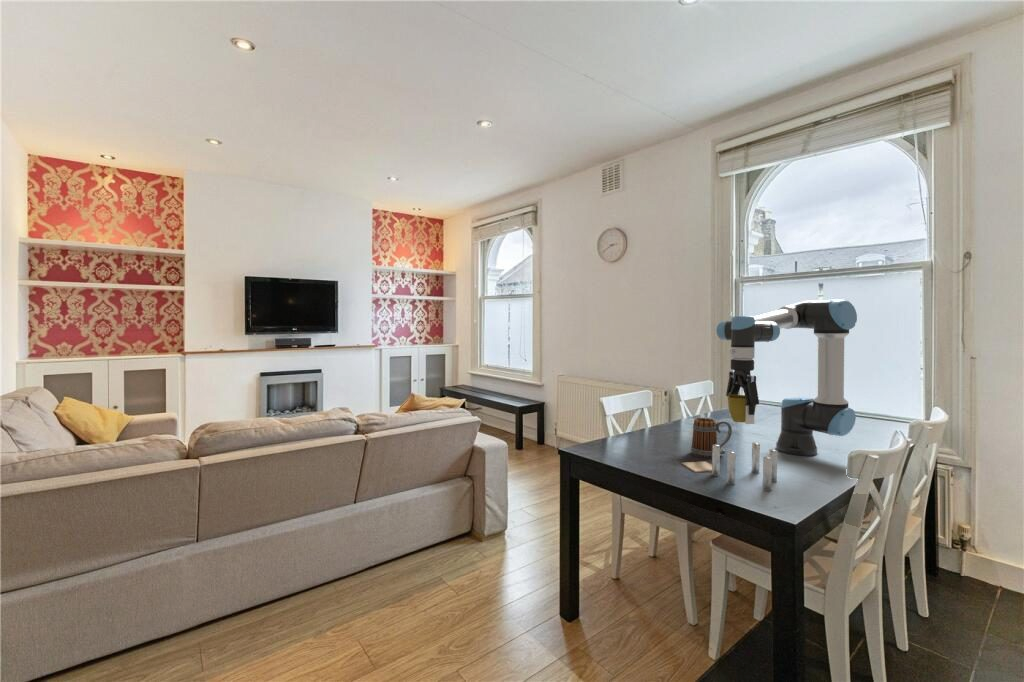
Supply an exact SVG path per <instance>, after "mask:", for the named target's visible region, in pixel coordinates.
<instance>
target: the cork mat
mask: <svg viewBox="0 0 1024 682" xmlns="http://www.w3.org/2000/svg"><path fill="white" fill-rule="evenodd" d="M681 465H683V466H684V467H686V468H688V469H689V470H691V471H692V472H693V473H711V472H712V463H709V462H707V461H705V460H704V461H690V462H689V461H687V462H681Z"/></svg>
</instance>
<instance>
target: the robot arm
mask: <svg viewBox="0 0 1024 682" xmlns="http://www.w3.org/2000/svg"><path fill="white" fill-rule="evenodd" d="M857 314H858V313H857V311H856V308H855V306H854V305H853V303H851V301H849V300H847V299H836V298H834V299H819V300H818V299H815V300H804V301H801V302H800V301H799V302H796V303H792V304H788V305H785V306H782V307H780V308H778V310H773V311H769V312H767V313H761V314H757V315H736V316H735V315H734V316H733V317H732V318H731V320H724V321H720V322H719V323H718V325H717V326H716V330H715V331H716V335H717V337H718V338H719V339H720V340H721V341H722V340H724V341H727V342H728V341H731V342H730V346H731V347H730V351H729V352H730V358H732V359H730V369H731V370H732V371H729V373H728V375H729V376H728V381H727V382H728V383H727V387H726V388H727V389H726V392H725V395H726V397H728V394H731V395H739V392H740V389H741V388H742V390H743V393H744V394H743V395H745V398H746V401H747V404H745V405H746V419H745V424H746V425H754V424H755V414H756V413H755V412H756V408H755V405H756V406H757V405H760V400H759V393H758V388H757V386H758V385H757V376H756V375H751V372H752V371H754V370H755V360H754V359H755V344H756V342H757V343H765V342H767V343H769V342H773V341H776V340H777V339H778V338H779V337H780V333H781V329H787V330H790V329H813V334H814V335H815V336H816V337H817V341H818V342H817V396H816V397H815V398H812V397H787V398H783V400H782V402H781V407H780V409H781V414H780V416H781V417H780V423H781V425H780V433H779V435H778V438H777V441H776V443H775V450H777V451H778V452H782V453H786V454H788V455H789V454H790V455H795V456H805V457H806V456H815V455H817V454H818V447H817V445H816V441H815V437H814V433H813V432H818V433H822V434H827V435H830V436H836V437H837V436H838V437H844V436H846V435H848V434H849V433H850V432H851V431H852V430H853V428H854V427H855V424H856V419H857V417H856V412H855V410H854V409H853V408H852V407H851V408H850V407H849V401H848V400H847V399H846V398H844V397H845V394H844V393H845V339H846V336H848V335H850V330H851V329H854V327H856V324H857V321H858V315H857ZM728 413H729V418H732V417H731V414H730V412H728Z"/></svg>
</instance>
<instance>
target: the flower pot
mask: <svg viewBox="0 0 1024 682" xmlns="http://www.w3.org/2000/svg"><path fill="white" fill-rule="evenodd" d="M727 404H728V411H729V412H730V414H731V417H730V418H731V419H732V421H733V422H735V423H745V419H746V405H745V404H747V401H746V398H745V394H738V395H731V394H728V396H727ZM756 407H757V405H755V409H757V408H756ZM729 412H728V413H729Z"/></svg>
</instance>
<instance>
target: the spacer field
mask: <svg viewBox="0 0 1024 682" xmlns="http://www.w3.org/2000/svg"><path fill="white" fill-rule="evenodd" d="M760 443H761V442H755V441H753V442H752V443H751V473H752V474H755V475H758V474H760V462H761V461H760V460H761V459H760V455H761V453H760V450H761V444H760ZM720 451H721V449H720V445H719V444H718V443H717V444H713V452H712V458H711V459H712V460H711V461H712V463H711V465H712V473H711V475H712V476H714V477H715V476H716V477H720V475H721V474H720V473H721V472H720V471H721V469H720V467H721V466H720V465H721V463H720V461H721V454H720ZM736 457H737V455H736V451H731V450H729V451H727V463H726V464H727V465H726V467H727V469H726V471H727V472H726V484H728V485H731V486H734V485H736ZM762 461H763V462H762V490H763V491H764V492H768V493H769V492H772V483H777V481H778V480H777V479H778V476H777V475H778V450H777V449H776V448H775V449H773V448H770V449H769V451H768V456H763V460H762Z"/></svg>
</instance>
